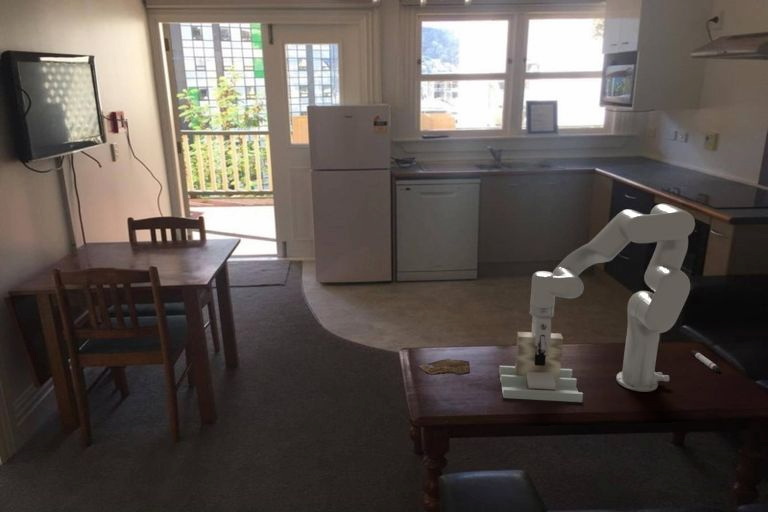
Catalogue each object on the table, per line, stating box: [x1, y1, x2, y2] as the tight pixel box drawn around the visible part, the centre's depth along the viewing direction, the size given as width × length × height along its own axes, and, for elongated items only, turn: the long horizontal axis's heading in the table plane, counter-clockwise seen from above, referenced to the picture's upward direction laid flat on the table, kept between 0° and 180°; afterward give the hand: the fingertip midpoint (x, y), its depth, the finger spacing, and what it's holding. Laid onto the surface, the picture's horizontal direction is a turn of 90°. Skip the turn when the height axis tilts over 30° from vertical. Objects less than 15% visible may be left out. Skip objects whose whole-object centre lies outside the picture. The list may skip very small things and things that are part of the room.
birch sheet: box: [514, 331, 564, 378], centre depth 183 cm, size 14×4×16 cm, turn 83°
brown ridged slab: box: [418, 358, 471, 375], centre depth 196 cm, size 26×11×1 cm, turn 91°
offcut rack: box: [498, 365, 584, 403], centre depth 180 cm, size 24×18×4 cm
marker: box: [691, 349, 721, 373], centre depth 198 cm, size 15×2×2 cm, turn 3°
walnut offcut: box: [526, 381, 555, 391], centre depth 177 cm, size 8×6×2 cm
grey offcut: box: [527, 372, 556, 389], centre depth 176 cm, size 8×6×2 cm
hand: (538, 359), depth 183 cm, fingers open, 6 cm apart
